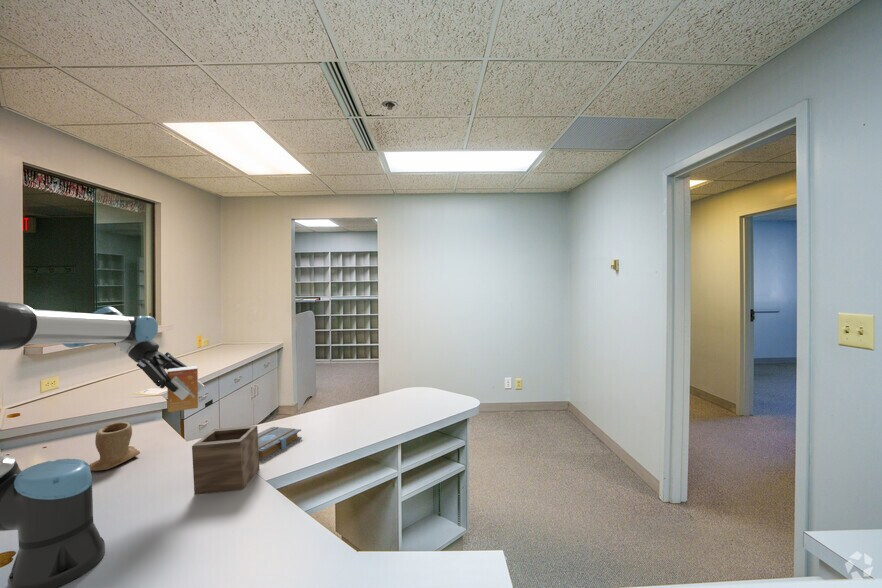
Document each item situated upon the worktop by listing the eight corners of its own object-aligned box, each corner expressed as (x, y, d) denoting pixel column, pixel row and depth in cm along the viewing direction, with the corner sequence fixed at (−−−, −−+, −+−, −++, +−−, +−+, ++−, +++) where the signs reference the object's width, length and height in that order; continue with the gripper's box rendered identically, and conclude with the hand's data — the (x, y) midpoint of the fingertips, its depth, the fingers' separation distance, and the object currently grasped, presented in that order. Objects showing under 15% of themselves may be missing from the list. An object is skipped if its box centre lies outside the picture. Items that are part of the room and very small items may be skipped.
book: (271, 435, 159) (270, 424, 158) (302, 439, 153) (302, 427, 153) (229, 457, 139) (228, 444, 139) (263, 462, 133) (262, 448, 133)
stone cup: (109, 474, 128) (106, 431, 128) (81, 472, 130) (79, 430, 130) (150, 455, 143) (148, 416, 143) (125, 453, 145) (123, 416, 145)
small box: (167, 413, 114) (166, 371, 114) (168, 408, 120) (167, 368, 120) (198, 408, 119) (197, 368, 119) (198, 403, 124) (197, 365, 124)
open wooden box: (242, 489, 114) (240, 441, 114) (194, 494, 112) (191, 445, 112) (259, 468, 128) (257, 425, 128) (216, 472, 126) (214, 429, 126)
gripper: (151, 349, 128) (201, 392, 130) (103, 361, 106) (165, 411, 109) (167, 334, 128) (217, 376, 131) (123, 341, 107) (184, 392, 109)
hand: (194, 392), depth 120 cm, fingers closed on small box, 9 cm apart
